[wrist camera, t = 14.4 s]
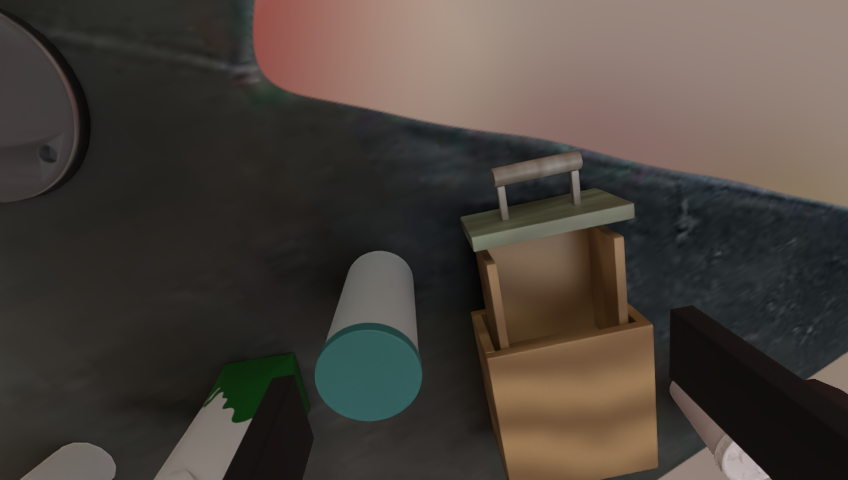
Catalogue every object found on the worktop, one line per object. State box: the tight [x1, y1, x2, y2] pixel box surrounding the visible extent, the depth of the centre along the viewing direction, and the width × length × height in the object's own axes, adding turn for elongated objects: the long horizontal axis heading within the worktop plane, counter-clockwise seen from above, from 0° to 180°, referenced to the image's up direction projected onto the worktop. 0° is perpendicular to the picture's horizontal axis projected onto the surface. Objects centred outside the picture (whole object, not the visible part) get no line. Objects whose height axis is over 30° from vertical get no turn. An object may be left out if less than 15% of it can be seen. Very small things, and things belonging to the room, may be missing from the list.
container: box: [315, 251, 422, 421], centre depth 33 cm, size 7×7×15 cm
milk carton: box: [154, 353, 310, 480], centre depth 33 cm, size 9×9×20 cm
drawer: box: [460, 150, 635, 351], centre depth 36 cm, size 18×13×6 cm
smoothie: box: [669, 381, 769, 480], centre depth 39 cm, size 6×6×14 cm
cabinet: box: [471, 303, 658, 480], centre depth 40 cm, size 15×14×8 cm
